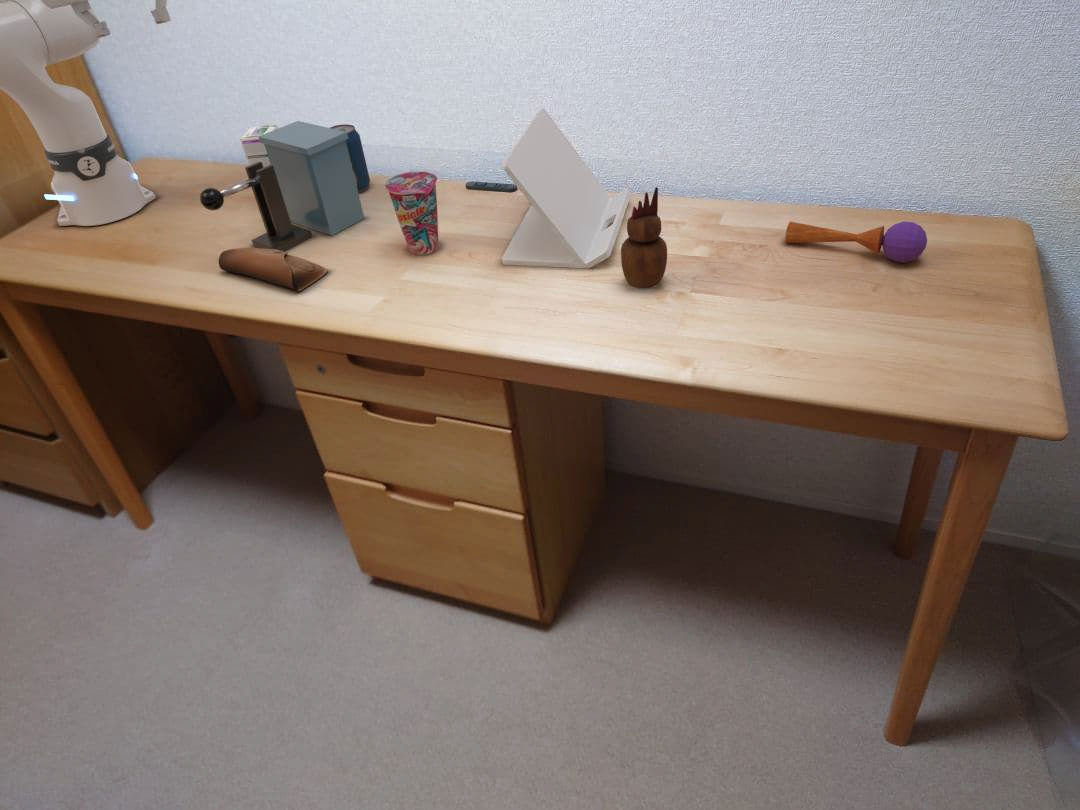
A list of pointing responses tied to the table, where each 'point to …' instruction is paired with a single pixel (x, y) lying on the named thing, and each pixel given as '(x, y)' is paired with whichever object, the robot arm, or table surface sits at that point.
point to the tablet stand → (560, 202)
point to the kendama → (868, 238)
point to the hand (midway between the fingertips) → (133, 29)
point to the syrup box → (256, 145)
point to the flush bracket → (274, 212)
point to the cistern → (314, 176)
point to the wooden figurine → (644, 246)
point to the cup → (416, 209)
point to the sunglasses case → (272, 266)
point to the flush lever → (224, 193)
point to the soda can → (356, 156)
